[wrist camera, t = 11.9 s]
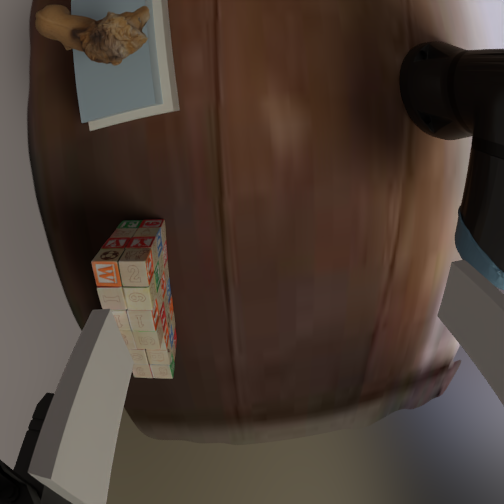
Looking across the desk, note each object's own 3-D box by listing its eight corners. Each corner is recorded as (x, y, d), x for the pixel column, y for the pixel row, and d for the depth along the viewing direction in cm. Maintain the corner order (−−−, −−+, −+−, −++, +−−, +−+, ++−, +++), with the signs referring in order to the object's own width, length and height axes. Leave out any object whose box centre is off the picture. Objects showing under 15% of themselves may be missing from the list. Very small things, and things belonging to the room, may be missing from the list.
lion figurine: (172, 28, 22) (153, -1, 14) (150, 76, 24) (121, 66, 16) (52, 8, 19) (6, -10, 11) (33, 52, 21) (-17, 46, 13)
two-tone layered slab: (166, -16, 26) (152, -43, 18) (179, 110, 34) (167, 111, 26) (92, 5, 26) (63, -14, 18) (104, 127, 34) (75, 134, 26)
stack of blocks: (178, 338, 50) (171, 395, 39) (142, 337, 49) (129, 392, 39) (165, 217, 41) (145, 261, 30) (121, 218, 40) (89, 261, 29)
